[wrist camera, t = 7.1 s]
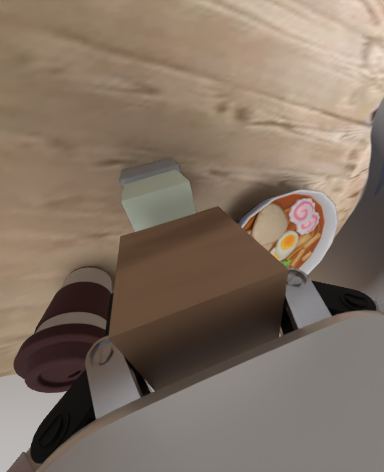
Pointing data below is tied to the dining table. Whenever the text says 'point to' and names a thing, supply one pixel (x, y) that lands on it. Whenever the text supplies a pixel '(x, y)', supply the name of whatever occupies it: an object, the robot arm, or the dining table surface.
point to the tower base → (148, 170)
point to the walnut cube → (193, 296)
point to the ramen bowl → (294, 227)
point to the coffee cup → (66, 332)
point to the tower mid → (157, 200)
